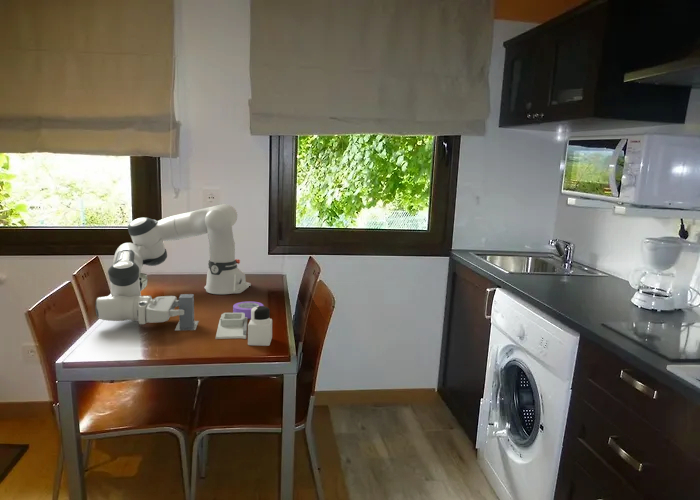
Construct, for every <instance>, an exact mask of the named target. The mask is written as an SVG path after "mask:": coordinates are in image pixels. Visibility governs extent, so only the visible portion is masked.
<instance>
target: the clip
mask: <svg viewBox="0 0 700 500" xmlns="http://www.w3.org/2000/svg"><path fill="white" fill-rule="evenodd" d="M194 296H195V295H194V294H193V293H184V294H183V293H182V294H179V297H178V300H179V306H178V310H179V309H184V310H185V313H184V315H178V319H179V321H178V322H179V327H180V328H191V327H193V325H194V321H195V299H194V298H195V297H194Z"/></svg>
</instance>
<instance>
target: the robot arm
mask: <svg viewBox="0 0 700 500" xmlns="http://www.w3.org/2000/svg"><path fill="white" fill-rule="evenodd" d="M237 219H238V212H237V209H236V208H235V207H234V206H232V205H231V204H228V203H223V204H222V203H221V204H218V205H214V206H209V207H203V208H200V209H196V210H193V211H188V212H183V213H178V214H174V215H171V216H167V217H164V218H162V219H159V220H156V219H152V218H149V217H146V216H145V217H143V216H142V217H138V218H136V219H133V220H132V221H131V222H129V224H128V225H127V230H128V234H129V235H130V238H131V241H132V242H124V243H122V244H120V245H119V246H118V247H117V249H116V250H115V253H114V256H113V259H112V261H113V262H112V265H111V266H110V267H109V268H108V270H107V274H108V279H109V284H110V291H111V292H110V293H109V294H108V295H106V296H98V297H96V300H95V305H94V306H95V313H96V317H97V318H98V319H99V320H102V321H109V322H110V321H111V322H123V321H132V322H133V321H134V322H138V324H139V325H145V324H147V323H148V324H151V323H153V324H154V323H156V324H157V323H164V322H168V321H169V319H170V318H171V317H177V316H178V317H179V315H184V313H185V310H184V309H179V299H178V298H177V296H175V295H164V296H163V295H162V296H161V295H160V296H156V297H154V298H152V295H142V291H141V292H140V281H139V274H140V273H142V270H143V265H145V266H148V267H156V266H159V265H160V264H163V263H164V262H165V261H166V260H167V258H168V252H167V249H166V247H165V245H164V241H166V242H169V241H171V242H172V241H178V240H184V239H188V238H193V237H198V236H201V235H205V234H207V237H208V245H209V246H208V248H209V249H208V250H209V260H208V270H207V272H206V282H205V283H206V285H204V289H205V292H206V293H209V294H211V295H212V294H213V295H230V294H231V295H232V294H241V293H242V292H244V291H245V290H247V289H248V288H249V286H250V287H251V286H252V285H251V282H247V281H246V274H245V273H244V272H243V271H242V270H241V269H240V268H238V265H239V264H240V263H241V260H240V259H238V258H237V259H236V256H235V255H236V252H235V251H236V248H235V246H236V245H235V244H236V243H235V240H234V234H233V226H234V225H235V224H236V222H237ZM237 264H238V265H237ZM177 307H178V309H176V308H177Z"/></svg>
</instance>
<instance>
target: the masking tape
mask: <svg viewBox="0 0 700 500" xmlns="http://www.w3.org/2000/svg"><path fill="white" fill-rule="evenodd" d="M256 306H264V303H262V302H258V301H240V302H236V303H234V304H233V305H232V313H245V317H247V320H251V309H252V308H254V307H256Z"/></svg>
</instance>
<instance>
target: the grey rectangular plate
mask: <svg viewBox="0 0 700 500" xmlns="http://www.w3.org/2000/svg"><path fill="white" fill-rule="evenodd" d="M199 322H200V320H194V325H193V327H191V328H180V327H179V321H178V322H177V324H176V326H175V329H174V331H178V332H179V331H196V330H197V328H198V325H199Z"/></svg>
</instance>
